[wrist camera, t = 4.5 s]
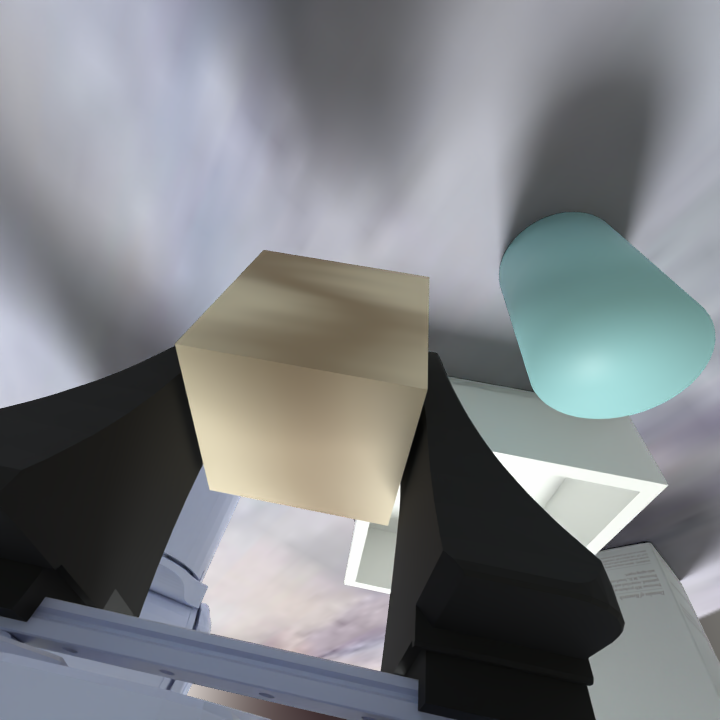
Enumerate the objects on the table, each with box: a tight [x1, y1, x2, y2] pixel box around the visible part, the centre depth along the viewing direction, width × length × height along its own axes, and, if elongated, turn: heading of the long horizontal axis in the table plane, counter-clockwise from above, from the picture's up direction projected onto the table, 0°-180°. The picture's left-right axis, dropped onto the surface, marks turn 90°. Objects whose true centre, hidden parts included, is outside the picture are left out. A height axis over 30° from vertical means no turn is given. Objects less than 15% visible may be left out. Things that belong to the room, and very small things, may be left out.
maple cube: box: [175, 250, 429, 526], centre depth 11 cm, size 5×5×5 cm
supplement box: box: [587, 543, 720, 720], centre depth 26 cm, size 7×7×13 cm
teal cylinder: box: [499, 212, 715, 419], centre depth 15 cm, size 5×5×7 cm
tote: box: [344, 376, 668, 594], centre depth 25 cm, size 14×18×5 cm
